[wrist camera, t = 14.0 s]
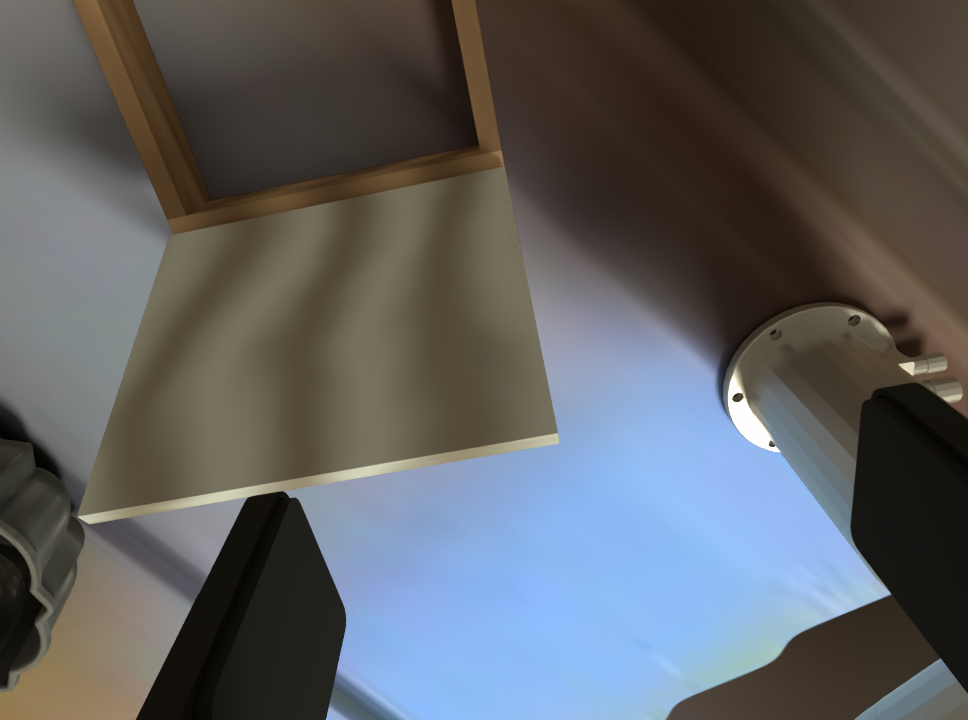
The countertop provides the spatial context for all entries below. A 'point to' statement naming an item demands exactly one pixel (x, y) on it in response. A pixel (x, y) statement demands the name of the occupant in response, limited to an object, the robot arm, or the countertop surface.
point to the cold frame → (316, 313)
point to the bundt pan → (32, 558)
